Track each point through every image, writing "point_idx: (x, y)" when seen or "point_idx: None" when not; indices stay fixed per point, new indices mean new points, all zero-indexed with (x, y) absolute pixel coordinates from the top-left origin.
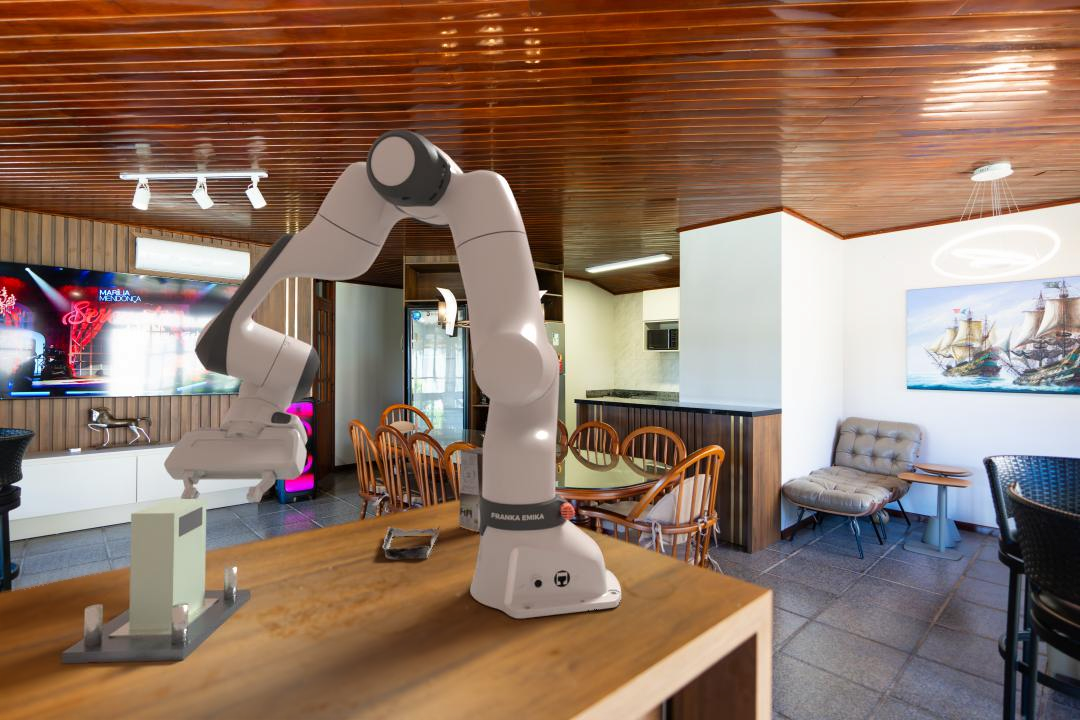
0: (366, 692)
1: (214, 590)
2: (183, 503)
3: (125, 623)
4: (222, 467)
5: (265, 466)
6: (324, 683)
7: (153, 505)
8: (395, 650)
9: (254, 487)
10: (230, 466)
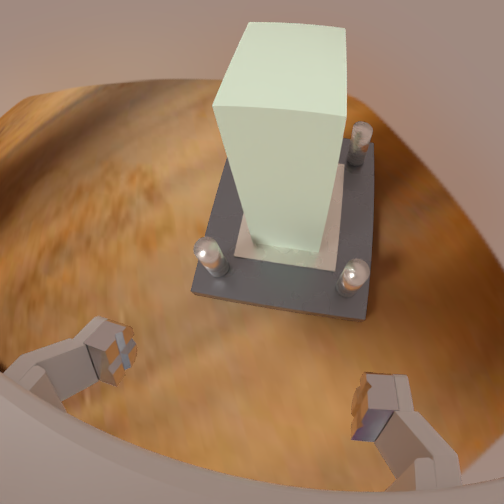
0: (95, 98)
1: (255, 302)
2: (264, 70)
3: (346, 199)
4: (228, 477)
5: (2, 379)
6: (116, 104)
7: (341, 65)
8: (62, 142)
9: (89, 343)
10: (169, 463)
